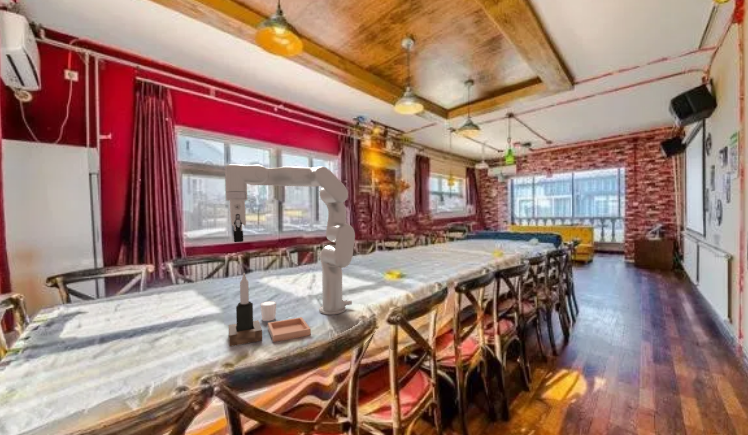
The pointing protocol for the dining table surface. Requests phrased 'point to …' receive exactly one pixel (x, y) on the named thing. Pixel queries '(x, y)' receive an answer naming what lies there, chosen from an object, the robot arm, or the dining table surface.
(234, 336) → the block
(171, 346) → the dining table surface
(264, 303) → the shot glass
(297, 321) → the tray
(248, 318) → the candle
